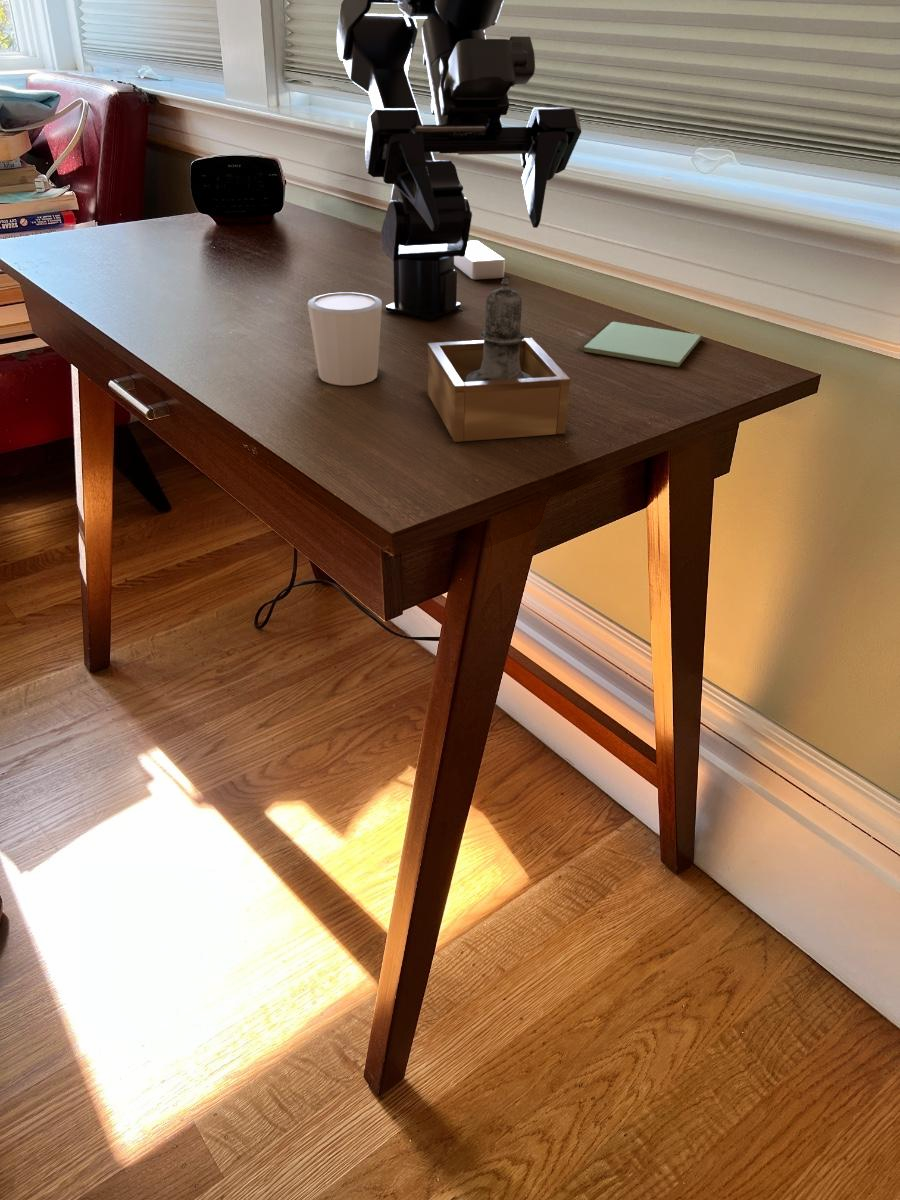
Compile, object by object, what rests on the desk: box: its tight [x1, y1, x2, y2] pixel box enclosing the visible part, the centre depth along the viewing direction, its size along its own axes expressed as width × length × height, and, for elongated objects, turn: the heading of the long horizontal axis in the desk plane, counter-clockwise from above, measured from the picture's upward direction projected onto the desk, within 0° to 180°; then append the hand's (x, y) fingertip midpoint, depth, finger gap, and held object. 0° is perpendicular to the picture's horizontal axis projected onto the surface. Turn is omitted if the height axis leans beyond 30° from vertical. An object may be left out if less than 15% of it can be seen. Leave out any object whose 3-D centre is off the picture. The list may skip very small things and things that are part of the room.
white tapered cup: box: [307, 291, 383, 386], centre depth 85 cm, size 7×7×7 cm
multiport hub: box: [454, 240, 506, 281], centre depth 121 cm, size 4×11×2 cm, turn 18°
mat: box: [582, 321, 702, 368], centre depth 96 cm, size 10×10×1 cm
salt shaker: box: [465, 277, 532, 382], centre depth 75 cm, size 6×6×12 cm
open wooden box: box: [427, 337, 571, 443], centre depth 78 cm, size 11×10×5 cm
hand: (486, 226), depth 79 cm, fingers open, 9 cm apart
